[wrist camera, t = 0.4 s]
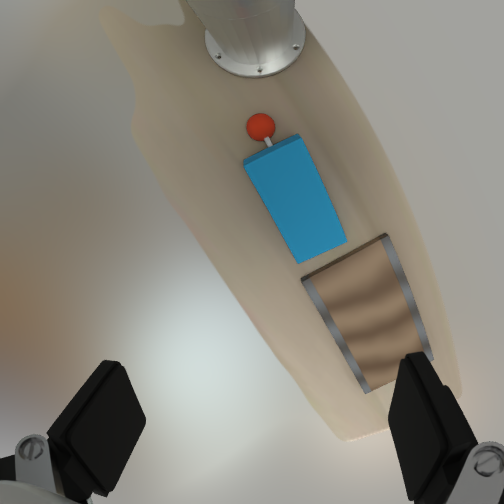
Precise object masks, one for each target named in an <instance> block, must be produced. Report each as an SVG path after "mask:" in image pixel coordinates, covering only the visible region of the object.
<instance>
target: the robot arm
mask: <svg viewBox="0 0 504 504" xmlns="http://www.w3.org/2000/svg"><path fill="white" fill-rule="evenodd" d="M186 1H187V2H188V4H189V5H190V7H191V8H192V9H193V11H194V12H195V13H196V15H197V16H198V18H199V19H200V20H201V22H202V23H203V24H204V26H205V27H206V30H205V44H206V48H207V50H208V52H209V54H210V56H211V57H212V59H213V60H214V61H215V62H216V63H217V64H218V65H219V66H220V67H221V68H223V69H224V70H226V71H227V72H230V73H232V74H234V75H237V76H241V77H247V78H261V77H267V76H271V75H274V74H277V73H279V72H281V71H283V70H285V69H286V68H288V67H289V66H290V65H291V64H292V63H293V62H295V61H296V59H297V58H298V56H299V55H300V54H301V51H302V49H303V47H304V43H305V34H306V31H305V26H304V23H303V20H302V18H301V16H300V15H299V14H298V12H297V11H296V9H294V3H295V0H186ZM294 48H298V49H297V50H294ZM218 57H221V59H218ZM259 70H261V71H262V73H258V71H259ZM388 423H389V427H390V430H391V434H392V437H393V441H394V444H395V448H396V451H397V456H398V459H399V463H400V467H401V471H402V475H403V479H404V483H405V487H406V492H407V496H408V499H409V500H410V501H413V500H414V504H504V446H503V445H502V444H499V443H497V442H490V441H489V442H483V443H481V444H478V442H477V440H476V438H475V436H474V434H473V432H472V430H471V428H470V426H469V424H468V422H467V420H466V418H465V416H464V414H463V412H462V410H461V408H460V406H459V404H458V403H457V401H456V399H455V397H454V395H453V393H452V392H451V390H450V388H449V387H448V386H446V385H444V386H443V384H442V382H441V381H440V379H439V377H438V375H437V373H436V372H435V370H434V368H433V366H432V365H431V363H430V361H429V359H428V358H427V356H426V354H425V353H424V352H423V351H420V352H414V353H408V354H406V356H405V358H404V359H401V360H400V364H399V369H398V374H397V379H396V384H395V388H394V393H393V397H392V402H391V406H390V410H389V414H388ZM145 424H146V417H145V415H144V413H143V410H142V408H141V406H140V404H139V401H138V399H137V397H136V394H135V392H134V390H133V387H132V385H131V382H130V380H129V377H128V375H127V372H126V370H125V368H124V367H123V366H122V365H121V364H120V362H118V361H110V360H104V361H102V362H101V363H100V365H99V366H98V367H97V368H96V370H95V371H94V372H93V373H92V375H91V376H90V377H89V378H88V380H87V381H86V382H85V383H84V385H83V386H82V387H81V388H80V390H79V391H78V392H77V394H76V395H75V396H74V397H73V399H72V400H71V401H70V402H69V404H68V405H67V406H66V408H65V409H64V410H63V412H62V413H61V414H60V415H59V417H58V418H57V419H56V421H55V422H54V423H53V425H52V426H51V427H50V429H49V430H48V431H47V434H48V436H49V438H48V439H47V440H46V439H45V438H44V437H43V436H41V435H36V434H33V435H29V436H26V437H24V438H23V439H21V440H20V441H19V443H18V444H17V446H16V449H15V455H11V456H8V457H4V458H0V504H93V502H92V499H91V494H92V492H94V493H95V494H98V495H101V496H104V497H107V496H108V493H109V492H111V491H113V490H114V488H115V486H116V484H117V482H118V480H119V478H120V476H121V474H122V471H123V470H124V467H125V465H126V463H127V461H128V459H129V457H130V455H131V453H132V451H133V449H134V447H135V445H136V443H137V441H138V439H139V437H140V435H141V433H142V431H143V429H144V427H145Z"/></svg>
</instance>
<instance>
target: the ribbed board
mask: <svg viewBox="0 0 504 504" xmlns="http://www.w3.org/2000/svg"><path fill="white" fill-rule="evenodd" d="M301 282H302V284H303V286H304V287H305V289H306V291H307V293H308V294H309V296H310V298H311V299H312V301H313V303H314V305H315V306H316V308H317V310H318V311H319V313H320V315H321V317H322V318H323V320H324V322H325V324H326V325H327V327H328V329H329V331H330V332H331V334H332V336H333V338H334V339H335V341H336V343H337V345H338V346H339V348H340V350H341V352H342V354H343V355H344V357H345V359H346V361H347V362H348V364H349V366H350V368H351V370H352V371H353V373H354V375H355V377H356V379H357V380H358V382H359V384H360V386H361V388H362V389H363V391H364V393H365V394H367V393H369V392H371V391H373V390H375V389H377V388H379V387H381V386H383V385H385V384H388V383H390V382H392V381H394V380H396V379H397V374H398V369H399V364H400V360H401V359H404V358H405V356H406V354H408V353H414V352H420V351H423V352H424V353H425V354H426V356H427V358H428V359H429V361H430V362H431V361H432V360H434V358H433V354H432V351H431V348H430V345H429V341H428V338H427V335H426V332H425V329H424V326H423V323H422V320H421V317H420V314H419V311H418V308H417V305H416V303H415V300H414V297H413V294H412V292H411V289H410V287H409V284H408V281H407V279H406V276H405V274H404V271H403V269H402V266H401V264H400V261H399V259H398V256H397V254H396V252H395V249H394V247H393V245H392V242H391V240H390V238H389V236H388V235H387V234H386V233H384V234H382V235H381V236H379V237H377V238H375V239H373V240H372V241H370V242H368V243H366V244H364V245H363V246H361V247H359V248H357V249H355V250H353V251H352V252H350V253H348V254H346V255H344V256H342V257H341V258H339V259H337V260H335V261H333V262H331V263H329V264H327V265H326V266H324V267H322V268H320V269H318V270H316V271H314V272H312V273H310V274H308V275H307V276H305V277H303V278H301Z"/></svg>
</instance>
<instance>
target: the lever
mask: <svg viewBox="0 0 504 504" xmlns="http://www.w3.org/2000/svg"><path fill="white" fill-rule="evenodd" d="M274 131H275V124H274V121H273V120H272V118H271V117H269V116H268V115H266V114H262V113H261V114H255V115H253V116H252V117H250V119H249V120H248V122H247V132H248V134H249V135H250V137H251V138H253V139H254V140H257V141H264V140H265V142H266V144H267V145H268V148H266V149H264V150H262V151H260V152H258V153H256V154H254V155H252V156H250V157H249V158H247V159H245V160H244V168H245V170H246V172H247V174H248V175H249V177H250V179H251V181H252V182H253V184H254V186H255V188H256V189H257V191H258V193H259V195H260V196H261V198H262V200H263V202H264V203H265V205H266V207H267V209H268V211H269V212H270V214H271V216H272V218H273V219H274V221H275V223H276V225H277V227H278V228H279V230H280V232H281V234H282V236H283V238H284V239H285V241H286V243H287V245H288V247H289V248H290V250H291V252H292V254H293V256H294V258H295V259H296V261H297V263H298V264H299V263H301V262H304V261H306V260H308V259H310V258H312V257H315V256H317V255H319V254H321V253H324V252H326V251H328V250H330V249H332V248H335V247H337V246H339V245H341V244H343V243H345V242H347V239H346V236H345V234H344V231H343V229H342V227H341V224H340V222H339V219H338V217H337V215H336V212H335V210H334V207H333V205H332V203H331V200H330V198H329V196H328V194H327V191H326V189H325V187H324V185H323V182H322V180H321V178H320V176H319V173H318V171H317V169H316V167H315V165H314V163H313V161H312V158H311V156H310V154H309V152H308V150H307V148H306V146H305V144H304V142H303V140H302V138H301V137H300V136H299V134H296V135H293V136H291V137H289V138H287V139H285V140H283V141H281V142H279V143H277V144H275V145H273V144H272V142H271V140H270V137H271V136H272V135H273V134H274Z"/></svg>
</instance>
